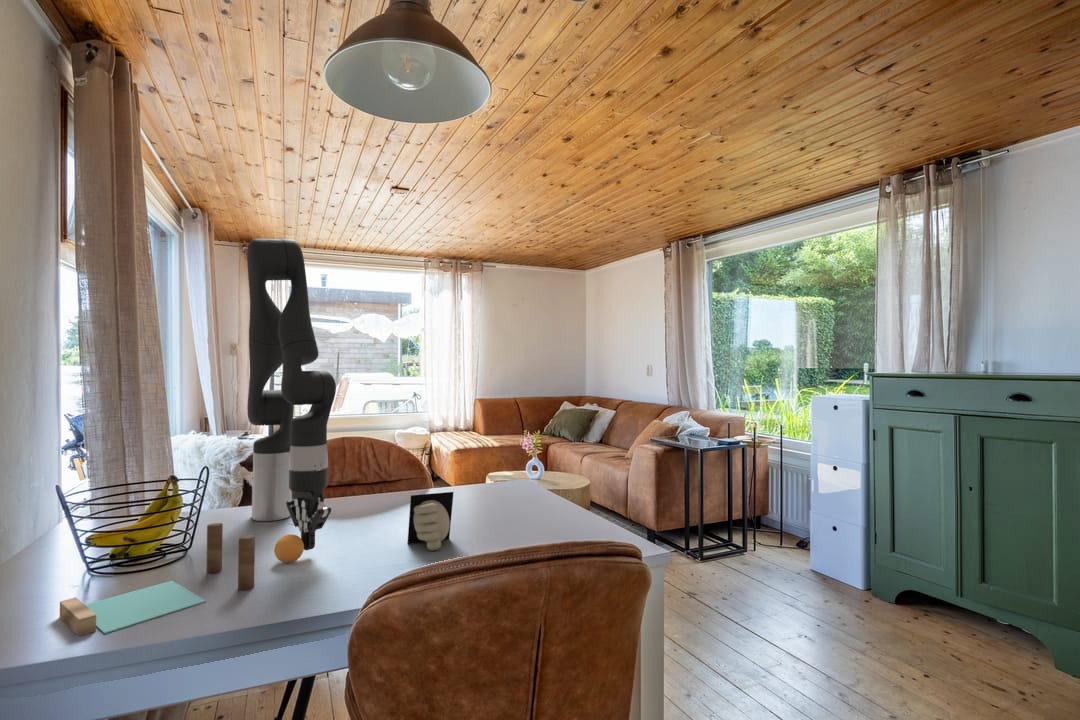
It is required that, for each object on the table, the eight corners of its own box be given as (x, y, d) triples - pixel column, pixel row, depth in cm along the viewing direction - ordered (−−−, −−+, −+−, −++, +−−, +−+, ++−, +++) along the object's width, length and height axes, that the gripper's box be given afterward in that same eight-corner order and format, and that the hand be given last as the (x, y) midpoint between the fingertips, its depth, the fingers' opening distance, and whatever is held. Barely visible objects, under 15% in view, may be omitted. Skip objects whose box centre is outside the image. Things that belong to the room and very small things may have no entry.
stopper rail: (59, 617, 87) (59, 601, 87) (75, 612, 89) (75, 597, 89) (79, 636, 81) (79, 619, 81) (96, 631, 83) (96, 614, 83)
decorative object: (456, 557, 122) (413, 563, 118) (446, 532, 131) (405, 537, 127) (461, 508, 119) (416, 512, 115) (450, 486, 128) (408, 489, 124)
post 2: (235, 588, 99) (235, 538, 99) (249, 583, 101) (250, 534, 101) (242, 591, 98) (242, 541, 98) (256, 587, 100) (257, 537, 100)
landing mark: (75, 608, 90) (75, 607, 90) (172, 581, 102) (172, 580, 102) (104, 634, 82) (104, 632, 82) (205, 601, 94) (205, 600, 94)
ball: (286, 560, 115) (264, 555, 111) (298, 534, 117) (277, 528, 113) (301, 568, 112) (279, 563, 108) (314, 541, 114) (292, 535, 110)
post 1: (204, 571, 107) (204, 525, 107) (218, 567, 109) (218, 522, 109) (210, 574, 105) (210, 527, 105) (224, 570, 107) (225, 524, 107)
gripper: (273, 465, 116) (273, 547, 116) (311, 472, 109) (310, 560, 108) (306, 460, 122) (305, 538, 122) (343, 466, 115) (343, 550, 115)
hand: (307, 548), depth 115 cm, fingers closed
